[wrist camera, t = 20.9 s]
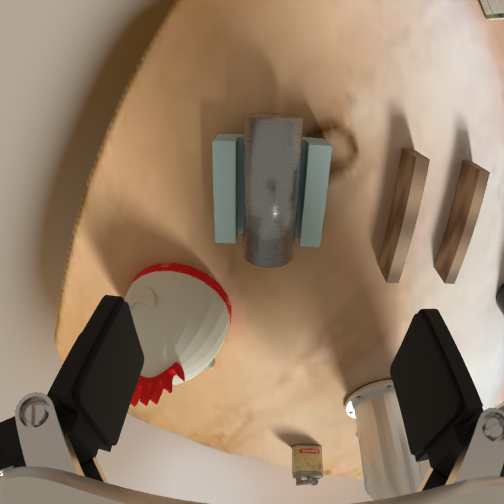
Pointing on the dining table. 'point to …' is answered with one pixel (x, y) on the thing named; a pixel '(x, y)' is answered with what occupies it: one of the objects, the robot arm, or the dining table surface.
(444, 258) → the wooden blocks
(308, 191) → the cradle
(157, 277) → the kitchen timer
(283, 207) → the grey cylinder
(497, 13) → the syrup box
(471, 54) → the dining table surface
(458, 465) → the robot arm
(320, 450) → the jerry can
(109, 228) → the dining table surface
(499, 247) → the dining table surface
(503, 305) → the supplement bottle
